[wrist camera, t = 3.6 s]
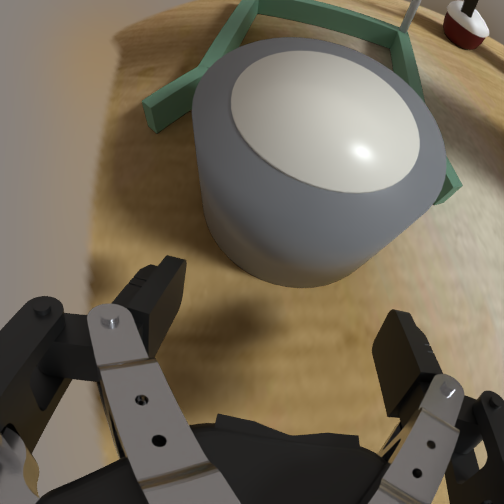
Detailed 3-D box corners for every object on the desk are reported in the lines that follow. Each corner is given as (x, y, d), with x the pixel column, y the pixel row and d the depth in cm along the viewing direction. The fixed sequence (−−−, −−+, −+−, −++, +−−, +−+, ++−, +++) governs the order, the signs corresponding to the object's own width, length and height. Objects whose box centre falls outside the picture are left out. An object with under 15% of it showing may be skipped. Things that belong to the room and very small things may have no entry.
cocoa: (460, 35, 32) (490, -20, 21) (486, 61, 30) (521, 4, 19) (419, 22, 30) (449, -44, 19) (446, 48, 28) (484, -21, 17)
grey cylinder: (330, 114, 22) (361, 32, 14) (409, 248, 18) (486, 189, 11) (180, 151, 19) (164, 56, 12) (243, 319, 16) (257, 282, 9)
